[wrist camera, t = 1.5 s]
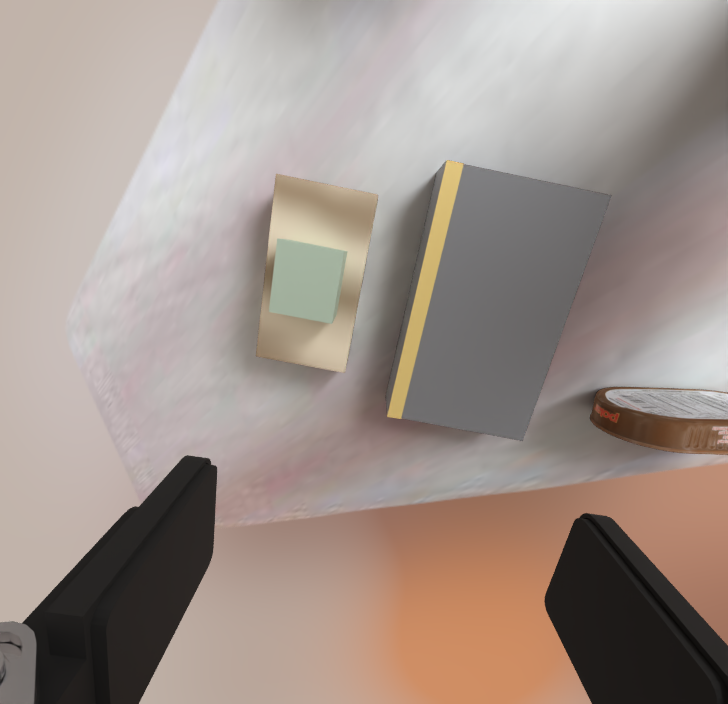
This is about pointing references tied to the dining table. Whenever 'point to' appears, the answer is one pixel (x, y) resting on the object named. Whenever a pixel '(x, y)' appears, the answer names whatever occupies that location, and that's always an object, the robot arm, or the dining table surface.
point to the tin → (665, 418)
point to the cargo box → (307, 280)
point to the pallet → (324, 228)
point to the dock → (490, 298)
